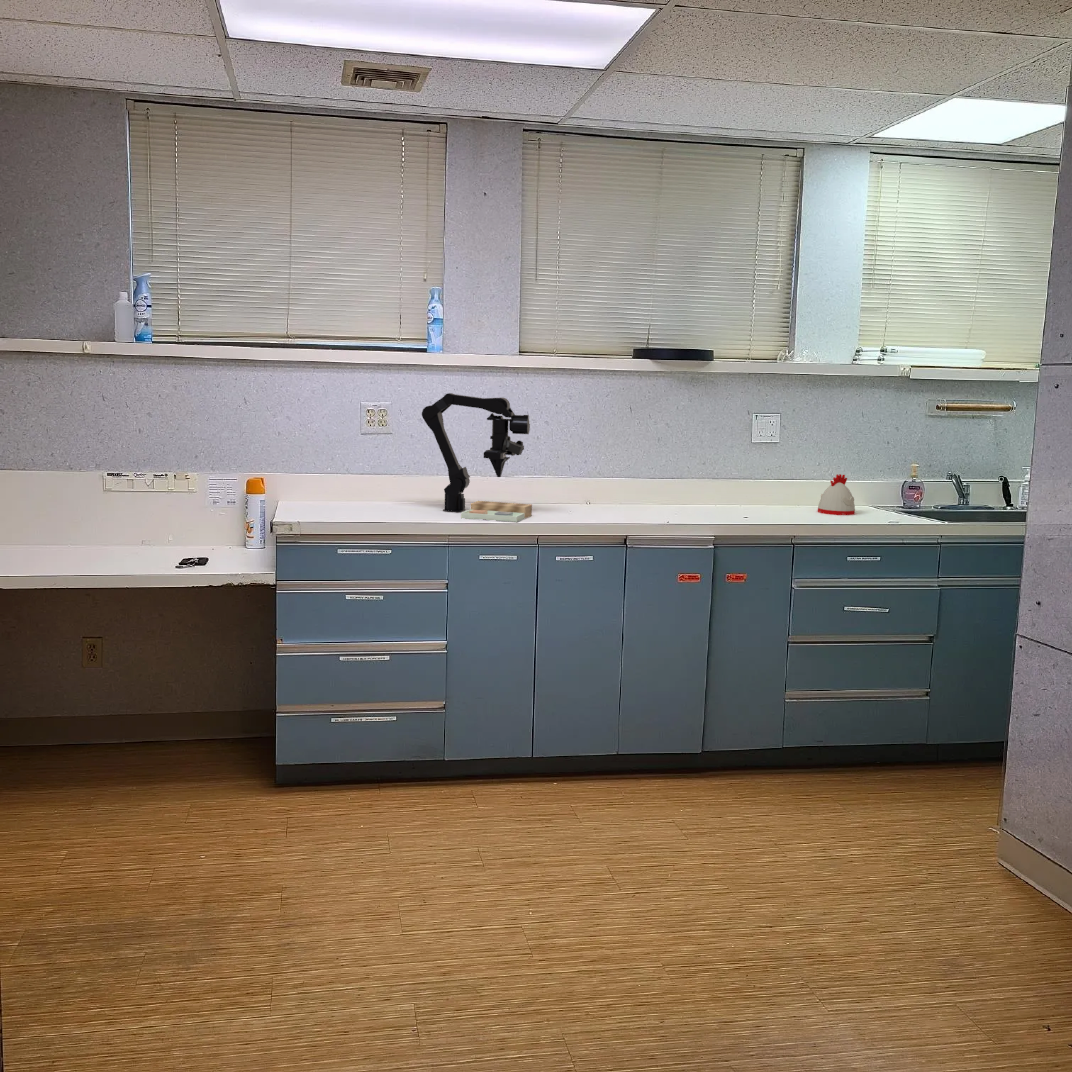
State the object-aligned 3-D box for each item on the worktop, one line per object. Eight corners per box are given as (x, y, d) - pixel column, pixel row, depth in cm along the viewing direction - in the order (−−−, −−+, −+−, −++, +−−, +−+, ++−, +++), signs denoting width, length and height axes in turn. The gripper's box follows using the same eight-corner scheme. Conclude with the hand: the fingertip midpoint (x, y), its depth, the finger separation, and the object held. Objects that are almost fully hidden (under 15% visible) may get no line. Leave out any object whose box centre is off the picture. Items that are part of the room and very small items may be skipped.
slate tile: (499, 511, 372) (498, 517, 373) (494, 513, 368) (494, 519, 368) (512, 512, 371) (512, 518, 371) (508, 514, 366) (508, 520, 367)
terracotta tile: (474, 509, 375) (473, 515, 375) (469, 511, 370) (469, 517, 370) (487, 510, 374) (487, 516, 374) (483, 512, 369) (483, 518, 369)
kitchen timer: (862, 514, 414) (865, 475, 412) (836, 516, 407) (839, 476, 405) (835, 509, 426) (838, 472, 424) (810, 511, 419) (812, 472, 417)
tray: (461, 518, 370) (461, 512, 369) (470, 514, 379) (470, 509, 378) (516, 522, 364) (516, 516, 364) (524, 518, 373) (524, 513, 373)
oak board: (470, 514, 379) (470, 503, 378) (478, 511, 387) (478, 500, 387) (524, 518, 374) (525, 507, 373) (531, 515, 382) (531, 504, 381)
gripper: (514, 435, 370) (513, 480, 372) (529, 432, 387) (527, 476, 390) (483, 434, 373) (482, 479, 375) (499, 431, 390) (498, 474, 393)
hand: (499, 477), depth 383 cm, fingers closed
